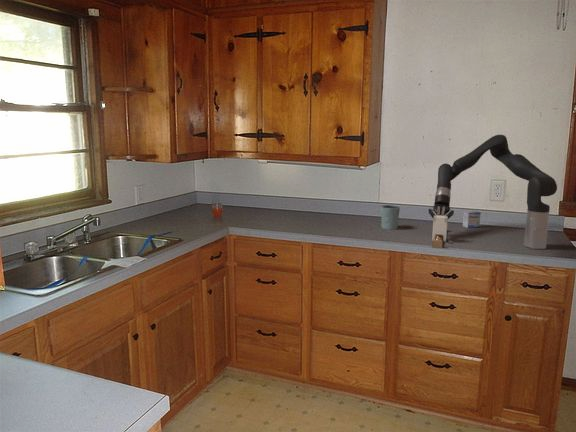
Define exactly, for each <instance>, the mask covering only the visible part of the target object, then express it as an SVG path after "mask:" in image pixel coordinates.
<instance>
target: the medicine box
mask: <svg viewBox="0 0 576 432" xmlns="http://www.w3.org/2000/svg"><path fill="white" fill-rule="evenodd" d="M481 214H482V212H480V211H478V210H477V211H475V210H474V211H473V210H472V211H463V218H462V227H463V228H466V229H475V228H476V229H477V228H480V227H481V226H480V223H481Z"/></svg>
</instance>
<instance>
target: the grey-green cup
mask: <svg viewBox="0 0 576 432" xmlns="http://www.w3.org/2000/svg"><path fill="white" fill-rule="evenodd" d="M400 209H401V207H400V206H399V205H394V204H393V205H392V204H384V205H383V204H382V205H381V206H380V210H381V211H380V212H381V229H383V230H388V231H392V230H393V231H394V230H395V231H396V230H397V229H398V227H399V215H400V211H401V210H400Z"/></svg>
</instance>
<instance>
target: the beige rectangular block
mask: <svg viewBox="0 0 576 432" xmlns="http://www.w3.org/2000/svg"><path fill="white" fill-rule="evenodd" d="M432 219H433V221H432V233H431V234H432V235H431V237H432V238H431V241H432V240H436V236H437V234H439V235H443V238H442V240H443V241H442V242H446V241H447V231H448V220H449V219H448V216H446V215H444V216H441V215H440V216H437V214H435V215H434V218H432Z"/></svg>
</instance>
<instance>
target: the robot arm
mask: <svg viewBox="0 0 576 432" xmlns="http://www.w3.org/2000/svg"><path fill="white" fill-rule="evenodd" d="M488 151H489V152H490V155H491V156H492V157H493V158H495V159H496V160H497V161H499V162H500V163H502V164H503V165H504V166H505V167H506V168H507V169H508V170H509V171H510V172H511V173H512V174H513V175H514V176H516V177H518V178H520V179H523V180H526V181H528V182H527V183H528V184H527V190H526V191H527V192H526V205H527V209H526V212H527V213H526V220H525V221H526V222H525V230H524V240H523V246H524V247H526V248H529V249H534V250H535V249H537V250H540V249H541V250H544V249H547V241H548V232H549V229H548V227H549V218H550V208H551V207H550V205H549V204H547V203H544V202H543V201H542V197H551V196H553V195H555V194H556V193H557V190H558V184H557V181H556V180H555V179H554V177H552V176H550V175H548V173H546V172H544V171H542V170H541V169H540V168H539V167H537V166H536V165H535V164H533V163H532V162H531V161H530V160H529V159H528V158H527V157H525V156H524V155H522V154H518V153H516V154H515V153H514V154H513V153H512V152H511V151H510V149H509V143H508V139H507V136H506V135H504V134H496V135H493V136H491V137H489V138H488V139H486V140H485V141H484V142H483V143H481V144H480V145H478V146H477V147H475V148H474V149H473V150H472V151H470V152H469V153H466V154H465V155H463V156H461V157H459V158H458V159H456V160H454V161H453V163H452V165H451V164H450V163H443V164H441V165H440V166H438V169H437V170H438V171H437V185H436V192H435V195H434V203H433V206H432V208H428V214H429V215H430V217H431V218H432V219H433V218H434V215H437V216H448V220H449V219H451V217H453V216H454V214H455V210H452V209H451V207H450V203H451V197H452V196H451V192H452V191H451V190H452V181H453V180H454V179H455V178H457V177H458V176H459V175H460V174H461V173H462V172H465V171H467V170H468V169H470V168H472V167H473V166H474V165H476V164H477V163H478V162H479V160H480V159H481V158H482V156H484V154H486V152H488Z"/></svg>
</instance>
